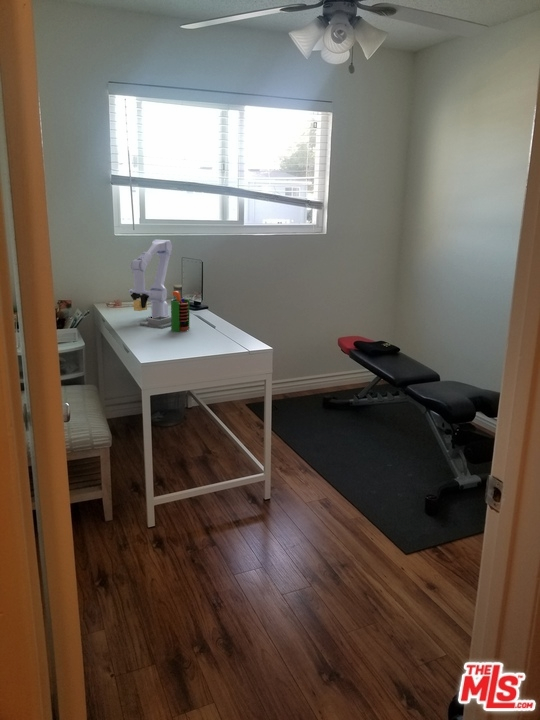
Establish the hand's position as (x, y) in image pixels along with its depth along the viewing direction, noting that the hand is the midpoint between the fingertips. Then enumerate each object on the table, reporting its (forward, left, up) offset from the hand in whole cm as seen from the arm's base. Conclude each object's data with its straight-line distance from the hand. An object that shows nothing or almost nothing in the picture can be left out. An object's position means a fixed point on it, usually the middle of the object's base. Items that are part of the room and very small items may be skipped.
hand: (140, 307), depth 295 cm
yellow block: (0, 0, -1) cm, 1 cm away
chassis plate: (-2, +12, -8) cm, 15 cm away
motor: (+2, +29, -9) cm, 30 cm away
